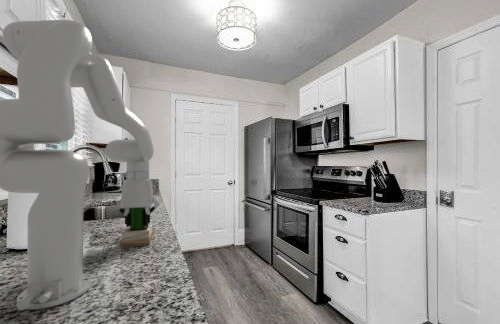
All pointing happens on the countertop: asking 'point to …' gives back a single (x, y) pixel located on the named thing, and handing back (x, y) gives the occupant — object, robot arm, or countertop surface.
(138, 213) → the beer can
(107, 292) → the countertop surface
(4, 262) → the countertop surface
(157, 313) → the countertop surface
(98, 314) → the countertop surface
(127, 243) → the wooden box with panel
